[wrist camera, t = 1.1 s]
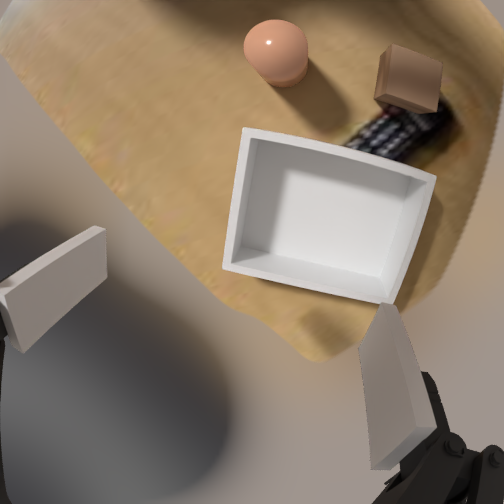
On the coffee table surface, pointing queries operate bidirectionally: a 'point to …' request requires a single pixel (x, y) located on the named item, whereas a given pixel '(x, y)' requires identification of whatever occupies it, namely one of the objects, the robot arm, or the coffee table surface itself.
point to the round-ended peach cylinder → (277, 52)
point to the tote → (324, 216)
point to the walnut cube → (408, 80)
